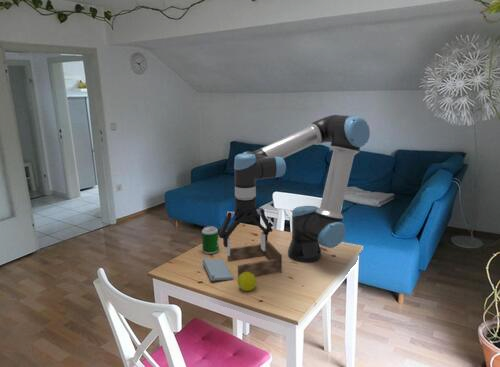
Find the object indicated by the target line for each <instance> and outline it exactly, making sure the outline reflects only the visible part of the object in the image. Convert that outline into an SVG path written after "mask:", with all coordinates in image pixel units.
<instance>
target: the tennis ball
mask: <svg viewBox="0 0 500 367" xmlns="http://www.w3.org/2000/svg"><path fill="white" fill-rule="evenodd" d="M237 285H238V286H239V289H240V290H242V291H243V292H249V291H252V290H254V289H255V287H256V285H257V278H256V276H254V274H253V273H250V272H244V273H242V274H240V276H239V278H238V277H237Z"/></svg>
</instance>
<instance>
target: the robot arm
mask: <svg viewBox="0 0 500 367" xmlns="http://www.w3.org/2000/svg"><path fill="white" fill-rule="evenodd" d="M370 130H371V128H370V125H369V124H368V122H367V120H366V119H364V118H363V117H361V116H356V115H342V114H341V115H339V114H331V115H327V116H325V117H321V118H320V119H317V120H315V121H313V122H310V123H309V124H307V125H306V127H305V128H304V129H301V130H299V131H296V132H294V133H292V134H290V135H288V136H285V137H283V138H281V139H279V140H277V141H274V142H272V143H270V144H268V145H264V146H263V147H260V148H259V149H256V150H253V151H244V152H242V153H238V154H237V155H235V157H234V164H233V169H234V170H233V171H234V197H235V198H234V211H229V210H227V211H226V214H225V219H224V220H223V221H222V224H221V226H220V229H219V230H218V238H220V239H223V240H222V242H223V246H224V248H225V253H226V256H227V255H228V256H230V248H231V239H230V236H231V234H232V233H233V232H234V231H235V229H236V228H237V227H238V226H239V225H240V224H241V223H242V224H245V223H251V222H252V221H253V223H255V225H256V226H257V227H258V228H259V229H260V230H261V232H260V244H261V249H262V250H263V251H265V242H267V240H268V235H269V233H272V232H273V228H272V226H271V224H270V222H269V220H268V218H267V217H266V214H265V209H264V208H262V207H261V206H260V207H259V208H257V199H256V197H257V187H256V186H257V184H256V183H257V180H258V181H259V180H265V179H276V178H279V177H280V178H281V177H282V176H284V175H285V173H286V171H287V164H286V161H285V158H287V157H289V156H291V155H294V154H295V153H298V152H300V151H302V150H305V149H306V148H309V147H312V145H316V146H318V145H320V144H323V143H331V144H330V148H331V151H332V155H331V159H330V164H329V168H328V173H327V175H326V176H327V177H326V182H325V184H324V188H323V189H324V190H323V194H322V199H321V203H320V207H318V206H314V205H303V206H302V205H301V206H300V205H299V206H296V207H294V208H293V209H292V214H291V219H292V220H291V241H290V243H289V246H288V249H287V256H288V258H289V259H292V260H293V261H296V262H300V263H312V262H313V263H314V262H316V261H319V260H320V259H321V257H322V249H321V246H322V247H325V248H327V249H332V248H335V247H337V246H338V245H341V243H342V242H344V241H343V240H344V239H345V237H346V234H347V228H346V226H345V225H344V223H343V221H344V216H343V214H342V209H343V208H342V207H343V204H344V200H345V196H346V192H347V191H346V190H347V187H348V185H349V184H348V183H349V180H350V175H351V171H352V166H353V162H354V159H355V156H356V155H357V154H358V153H360V149H361V148H363V147H364V146H365V145H366V144H367V143H368V141H369V139H370V134H371V131H370ZM257 214H258V215H259V216H260V218H261V219H262V221H263V223H264V224H265V227H264V226H263V225H262V224H261V223H260V222H259V220H258V219H257V218H256V216H257ZM234 216H235V217H234ZM233 217H234V219H233V221H232V223H231V224H230V222H231V220H232V218H233ZM268 241H269V240H268Z"/></svg>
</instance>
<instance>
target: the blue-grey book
mask: <svg viewBox="0 0 500 367" xmlns="http://www.w3.org/2000/svg"><path fill="white" fill-rule="evenodd" d="M202 263H203V264H202V265H203V266H204V269H205V270H206V272H207V274H208V277H209V280H210V281H229V280H230V281H231V280H232V281H233V280H234V276H233V273H231V270H230V268H229V266H228V265H227V264H226V263H225V260H224V258H222V259H219V258H218V259H207V257H202Z"/></svg>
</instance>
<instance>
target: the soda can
mask: <svg viewBox="0 0 500 367" xmlns="http://www.w3.org/2000/svg"><path fill="white" fill-rule="evenodd" d="M218 233H219V230H218V228H217V227H216V226H213V225H208V226H205V227H203V229H201V242H202V252H203V253H204V254H206V255H214V254H216V253H218V252H219V250H220V248H219V246H220V243H219V236H218Z"/></svg>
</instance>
